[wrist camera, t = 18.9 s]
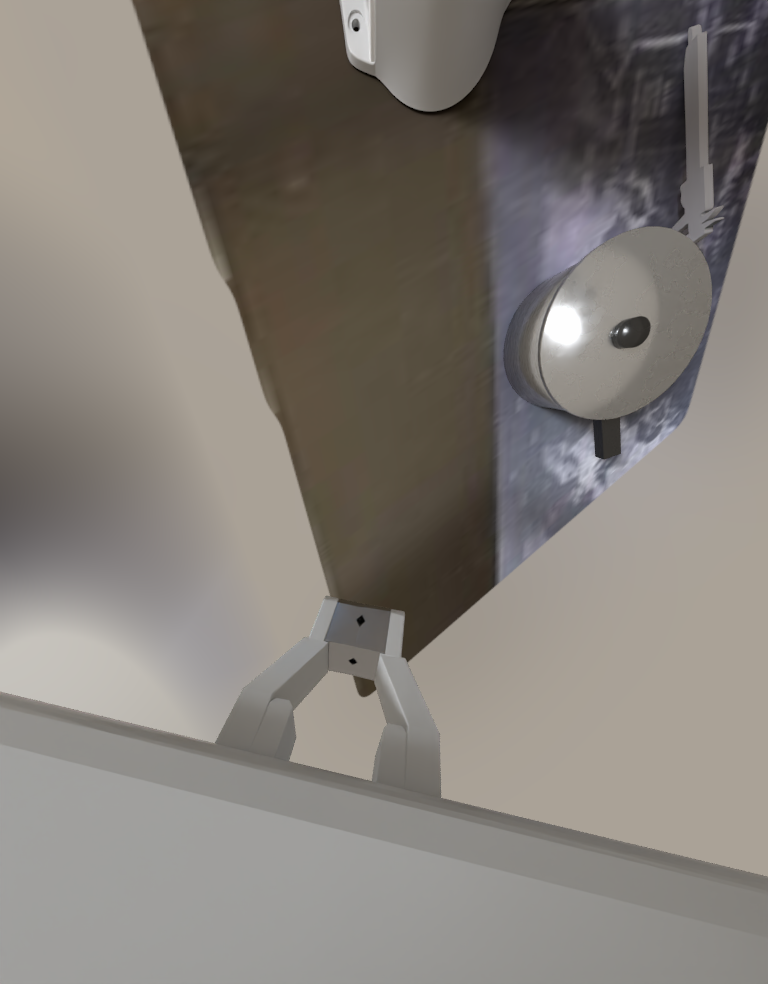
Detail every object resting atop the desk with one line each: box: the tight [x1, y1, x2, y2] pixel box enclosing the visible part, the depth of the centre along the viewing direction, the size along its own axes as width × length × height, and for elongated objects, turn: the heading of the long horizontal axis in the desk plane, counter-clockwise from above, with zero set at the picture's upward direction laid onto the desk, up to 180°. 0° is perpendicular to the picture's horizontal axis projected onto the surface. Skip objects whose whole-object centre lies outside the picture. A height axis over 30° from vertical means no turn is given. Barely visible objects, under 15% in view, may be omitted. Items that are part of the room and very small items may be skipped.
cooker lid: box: [538, 227, 712, 420], centre depth 31 cm, size 19×19×2 cm
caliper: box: [672, 24, 724, 244], centre depth 32 cm, size 20×1×6 cm, turn 14°
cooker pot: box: [504, 263, 621, 459], centre depth 38 cm, size 18×25×10 cm
